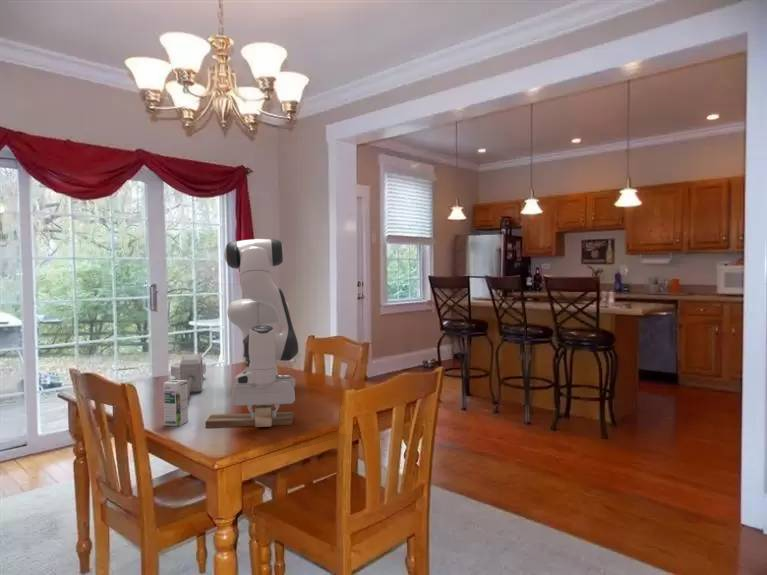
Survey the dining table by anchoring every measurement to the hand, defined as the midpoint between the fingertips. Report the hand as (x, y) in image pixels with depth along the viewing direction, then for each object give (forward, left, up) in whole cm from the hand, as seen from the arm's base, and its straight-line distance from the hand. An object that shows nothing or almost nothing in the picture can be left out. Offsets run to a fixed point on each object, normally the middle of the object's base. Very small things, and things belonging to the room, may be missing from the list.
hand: (263, 417), depth 170 cm
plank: (-7, -5, -4) cm, 9 cm away
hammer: (-43, -35, -4) cm, 55 cm away
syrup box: (-9, -30, -4) cm, 32 cm away
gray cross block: (-76, -44, -4) cm, 88 cm away
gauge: (-4, 0, -2) cm, 5 cm away
